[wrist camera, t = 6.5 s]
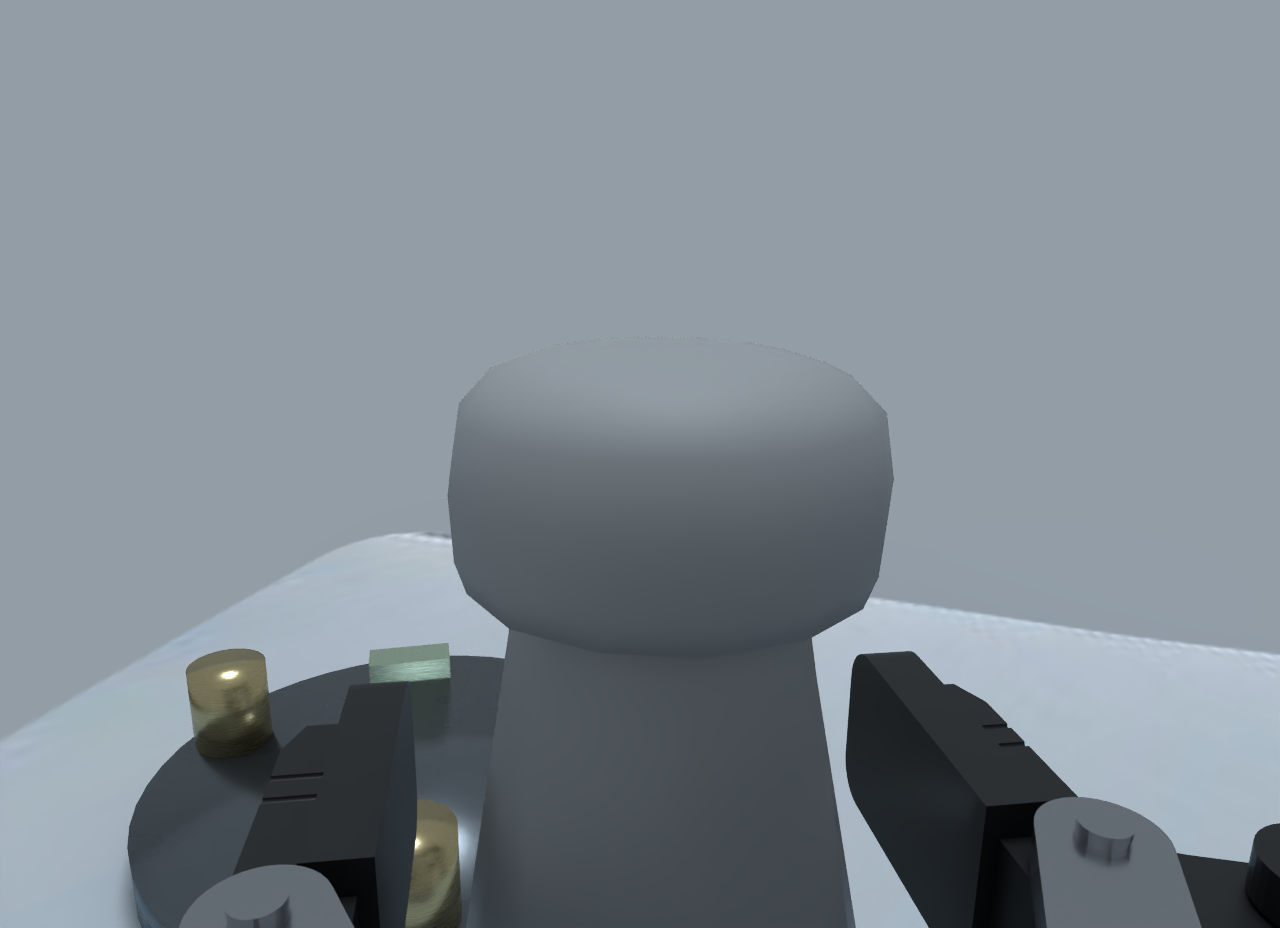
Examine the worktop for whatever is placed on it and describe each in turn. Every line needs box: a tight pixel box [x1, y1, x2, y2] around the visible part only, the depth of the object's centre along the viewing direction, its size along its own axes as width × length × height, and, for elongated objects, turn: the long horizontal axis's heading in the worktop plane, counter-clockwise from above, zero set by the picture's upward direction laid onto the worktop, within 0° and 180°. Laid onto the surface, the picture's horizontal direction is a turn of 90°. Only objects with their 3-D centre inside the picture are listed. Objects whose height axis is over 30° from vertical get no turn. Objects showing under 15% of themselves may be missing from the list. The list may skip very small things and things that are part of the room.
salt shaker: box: [448, 337, 894, 928], centre depth 11 cm, size 6×6×13 cm
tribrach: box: [127, 643, 505, 928], centre depth 23 cm, size 12×12×3 cm
